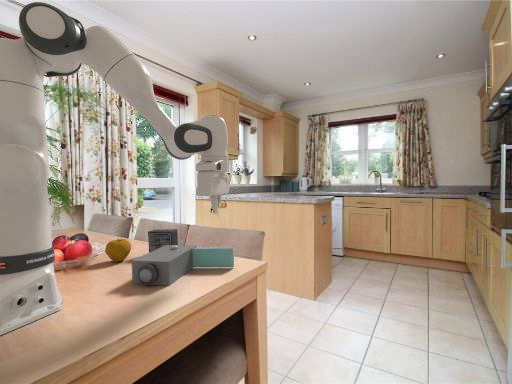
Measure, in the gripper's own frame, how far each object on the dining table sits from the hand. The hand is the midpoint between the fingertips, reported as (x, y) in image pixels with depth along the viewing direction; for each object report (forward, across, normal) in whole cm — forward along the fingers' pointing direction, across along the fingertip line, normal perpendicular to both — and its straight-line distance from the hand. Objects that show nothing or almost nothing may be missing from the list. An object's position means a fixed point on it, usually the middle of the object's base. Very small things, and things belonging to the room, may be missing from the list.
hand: (215, 208), depth 88 cm
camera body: (+21, +4, -16) cm, 27 cm away
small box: (+21, -19, -30) cm, 42 cm away
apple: (+22, -8, -43) cm, 49 cm away
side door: (+21, -4, -3) cm, 21 cm away
